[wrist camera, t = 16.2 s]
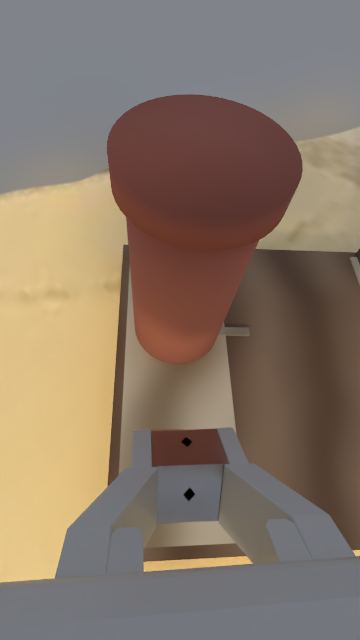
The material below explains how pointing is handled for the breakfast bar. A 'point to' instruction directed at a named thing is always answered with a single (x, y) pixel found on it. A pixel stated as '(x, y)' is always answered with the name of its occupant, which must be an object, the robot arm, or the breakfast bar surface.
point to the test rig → (259, 390)
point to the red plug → (195, 211)
